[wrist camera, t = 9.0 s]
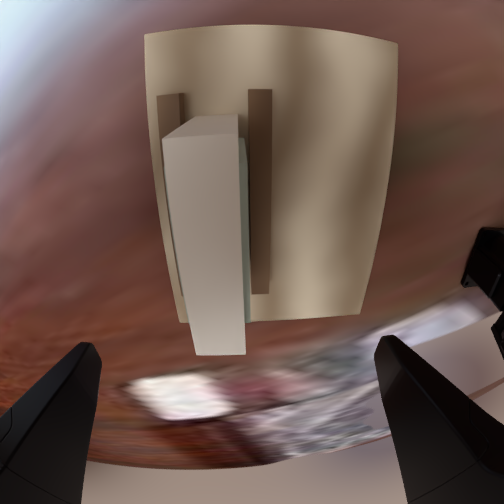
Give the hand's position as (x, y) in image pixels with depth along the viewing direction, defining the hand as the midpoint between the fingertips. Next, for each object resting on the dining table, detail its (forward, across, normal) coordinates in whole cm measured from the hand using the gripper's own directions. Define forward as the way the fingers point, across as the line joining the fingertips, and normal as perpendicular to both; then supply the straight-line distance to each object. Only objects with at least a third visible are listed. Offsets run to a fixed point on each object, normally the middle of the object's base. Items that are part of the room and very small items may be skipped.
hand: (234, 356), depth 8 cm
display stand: (+13, -2, 0) cm, 13 cm away
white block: (+12, +1, 0) cm, 12 cm away
